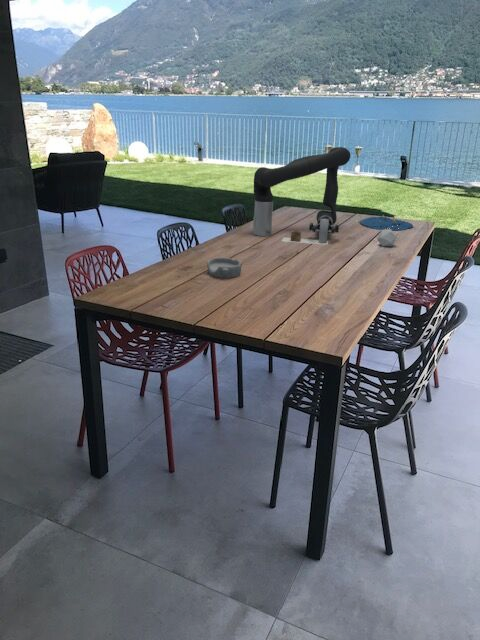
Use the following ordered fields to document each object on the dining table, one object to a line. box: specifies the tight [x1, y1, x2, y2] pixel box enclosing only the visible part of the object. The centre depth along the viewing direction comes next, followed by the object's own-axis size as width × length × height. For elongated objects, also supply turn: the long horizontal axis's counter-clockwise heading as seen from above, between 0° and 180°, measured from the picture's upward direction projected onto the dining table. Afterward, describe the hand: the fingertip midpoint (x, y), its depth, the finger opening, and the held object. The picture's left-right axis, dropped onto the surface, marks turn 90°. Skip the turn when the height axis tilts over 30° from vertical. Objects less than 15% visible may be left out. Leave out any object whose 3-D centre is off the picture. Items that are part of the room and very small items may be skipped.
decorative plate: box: [359, 214, 414, 231], centre depth 305 cm, size 30×30×5 cm
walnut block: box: [290, 229, 302, 243], centre depth 258 cm, size 4×4×4 cm
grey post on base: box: [281, 219, 329, 246], centre depth 256 cm, size 22×8×12 cm, turn 79°
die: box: [376, 229, 398, 247], centre depth 259 cm, size 8×9×10 cm
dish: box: [206, 257, 243, 279], centre depth 211 cm, size 14×14×5 cm
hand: (323, 230), depth 253 cm, fingers open, 8 cm apart
